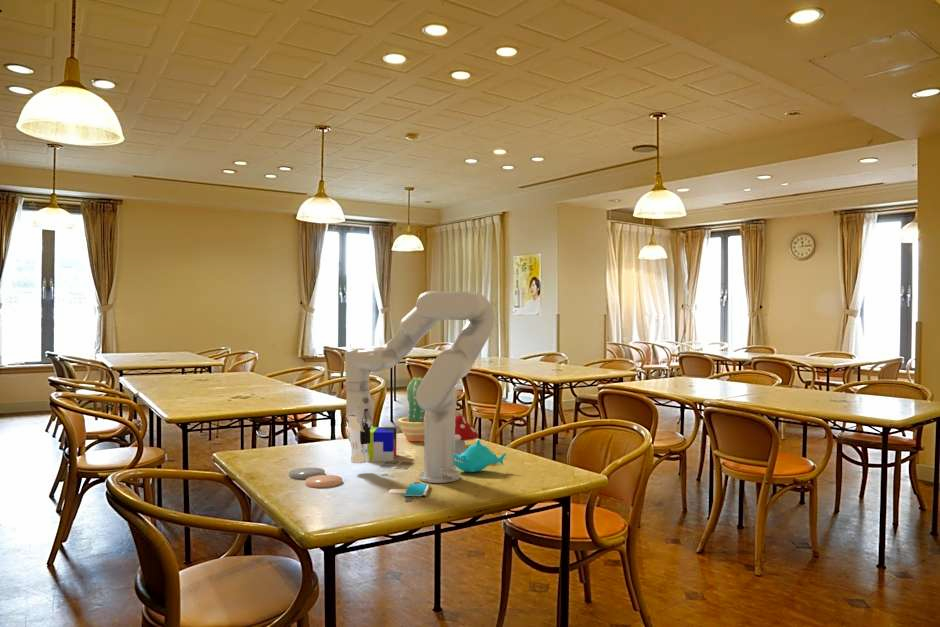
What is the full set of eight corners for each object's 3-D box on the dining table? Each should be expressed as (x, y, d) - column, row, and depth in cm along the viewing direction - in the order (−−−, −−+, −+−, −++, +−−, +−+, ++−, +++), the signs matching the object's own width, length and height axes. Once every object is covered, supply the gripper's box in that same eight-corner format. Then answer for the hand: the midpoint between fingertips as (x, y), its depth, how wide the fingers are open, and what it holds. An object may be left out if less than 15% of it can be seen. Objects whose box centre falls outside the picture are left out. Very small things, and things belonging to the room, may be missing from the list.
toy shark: (451, 468, 220) (451, 436, 220) (505, 468, 220) (505, 436, 220) (450, 475, 210) (451, 442, 210) (507, 475, 211) (507, 442, 210)
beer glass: (373, 458, 216) (372, 412, 216) (368, 463, 209) (366, 416, 209) (352, 459, 217) (351, 413, 217) (346, 463, 210) (345, 416, 210)
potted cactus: (430, 444, 258) (430, 380, 258) (392, 442, 261) (392, 379, 261) (439, 436, 273) (439, 376, 273) (403, 435, 276) (404, 375, 276)
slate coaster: (330, 475, 209) (330, 472, 209) (297, 481, 203) (297, 478, 203) (315, 468, 218) (315, 465, 218) (283, 474, 211) (283, 470, 211)
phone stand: (395, 484, 202) (395, 478, 202) (434, 484, 202) (434, 479, 202) (383, 503, 182) (383, 497, 182) (426, 503, 182) (426, 497, 182)
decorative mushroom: (472, 462, 228) (473, 419, 228) (434, 460, 232) (434, 417, 232) (482, 453, 242) (482, 412, 242) (446, 451, 245) (446, 411, 245)
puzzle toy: (392, 461, 230) (392, 432, 230) (363, 460, 230) (363, 432, 230) (396, 454, 240) (396, 427, 240) (368, 454, 240) (368, 427, 240)
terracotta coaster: (348, 483, 200) (348, 480, 200) (314, 489, 193) (314, 486, 193) (332, 476, 209) (332, 473, 209) (299, 481, 202) (299, 478, 202)
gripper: (381, 387, 209) (383, 444, 209) (355, 384, 222) (356, 437, 222) (360, 390, 204) (362, 447, 204) (334, 386, 218) (336, 440, 218)
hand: (359, 441), depth 213 cm, fingers closed on beer glass, 6 cm apart
